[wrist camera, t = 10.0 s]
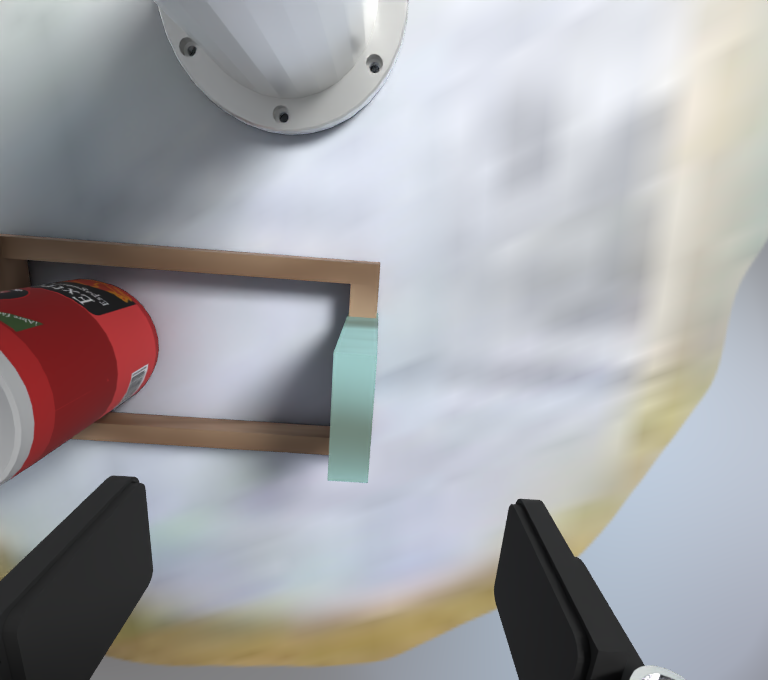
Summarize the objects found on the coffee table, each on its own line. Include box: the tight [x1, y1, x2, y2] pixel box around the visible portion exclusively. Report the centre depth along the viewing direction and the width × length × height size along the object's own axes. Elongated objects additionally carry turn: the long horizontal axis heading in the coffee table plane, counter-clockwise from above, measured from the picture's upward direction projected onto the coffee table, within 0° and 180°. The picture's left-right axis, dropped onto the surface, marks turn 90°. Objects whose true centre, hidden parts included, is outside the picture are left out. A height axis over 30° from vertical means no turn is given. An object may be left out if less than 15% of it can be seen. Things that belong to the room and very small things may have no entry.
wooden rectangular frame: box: [0, 234, 380, 483], centre depth 22 cm, size 12×23×9 cm, turn 86°
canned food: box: [0, 279, 159, 485], centre depth 21 cm, size 8×8×11 cm
